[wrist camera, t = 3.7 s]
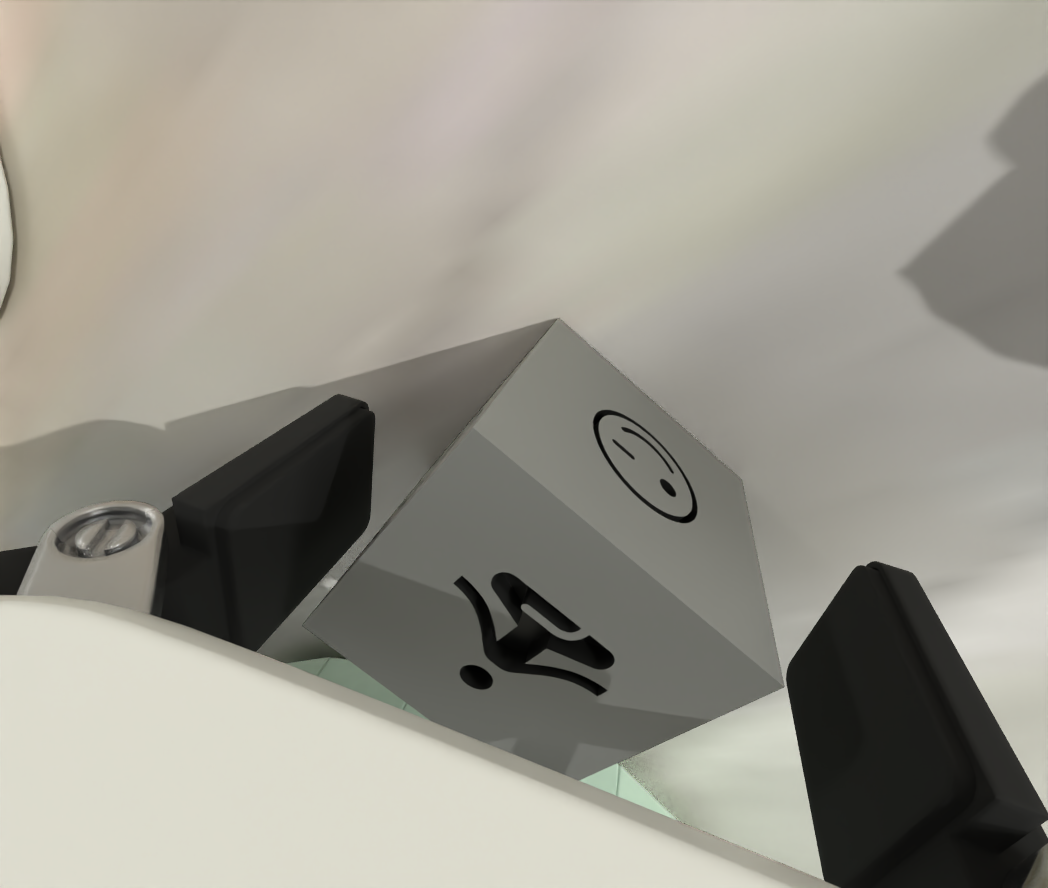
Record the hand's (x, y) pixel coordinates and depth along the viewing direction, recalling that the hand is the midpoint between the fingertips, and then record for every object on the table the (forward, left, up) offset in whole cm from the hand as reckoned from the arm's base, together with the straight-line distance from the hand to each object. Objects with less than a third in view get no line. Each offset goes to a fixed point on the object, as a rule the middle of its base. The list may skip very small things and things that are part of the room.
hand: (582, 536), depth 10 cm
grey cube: (-1, 0, -2) cm, 2 cm away
